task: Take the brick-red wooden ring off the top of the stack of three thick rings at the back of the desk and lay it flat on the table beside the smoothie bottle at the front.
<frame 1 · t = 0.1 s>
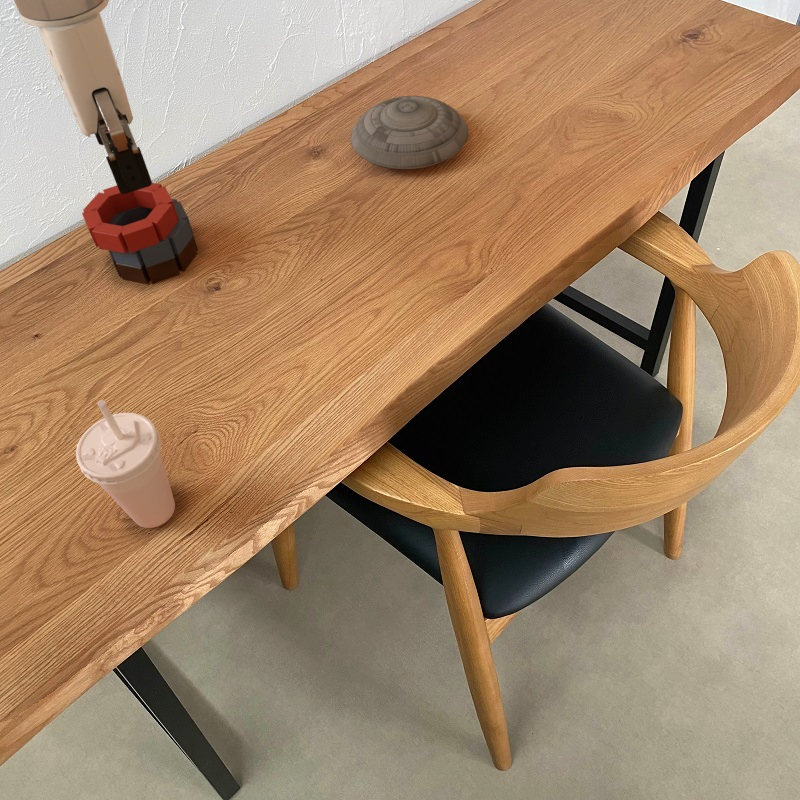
hand: (124, 163, 81), 13 cm above the table, tool pointing down, fingers open, 9 cm apart
smoothie: (154, 510, 69), on the table
ring top: (134, 224, 87), point 5 cm above the table, touching ring middle
flying saucer: (410, 145, 102), on the table
ring middle: (150, 239, 89), point 2 cm above the table, touching ring bottom, ring top
ring bottom: (156, 256, 91), on the table, touching ring middle
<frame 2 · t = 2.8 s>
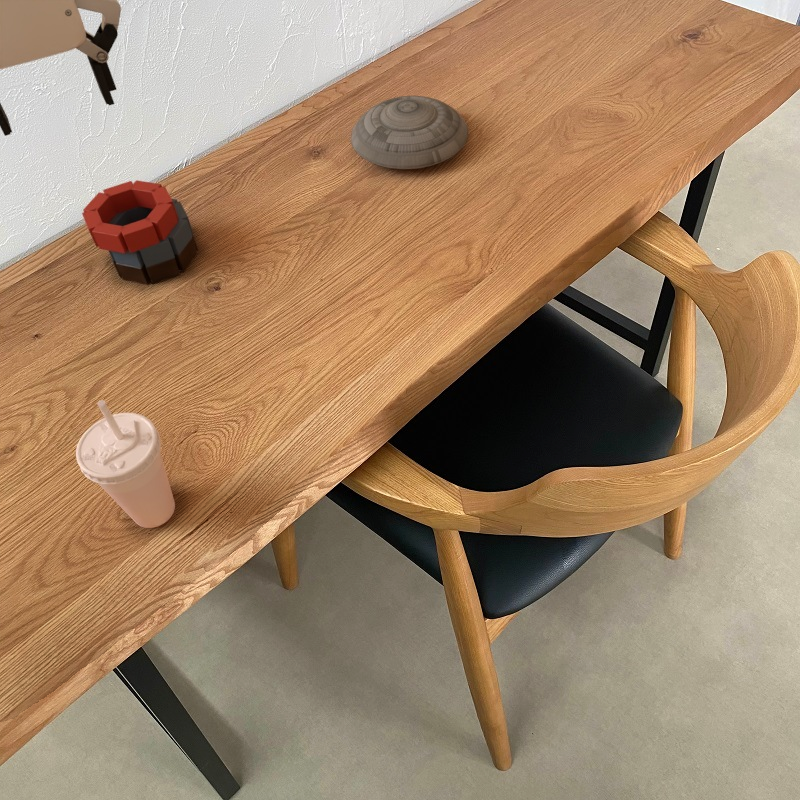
hand: (58, 113, 75), 19 cm above the table, tool pointing down, fingers open, 9 cm apart
nothing on the table moved.
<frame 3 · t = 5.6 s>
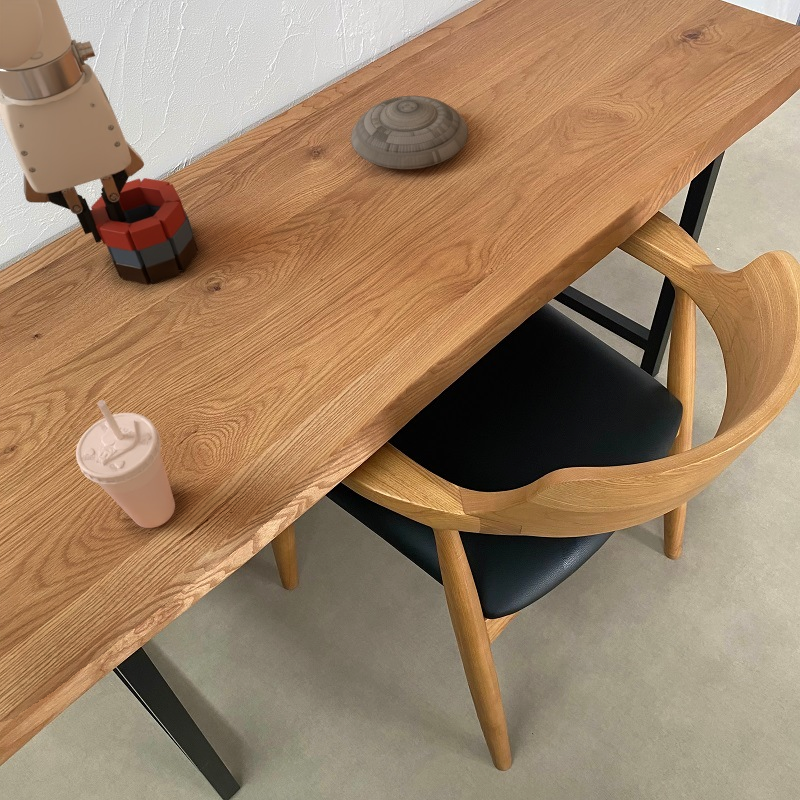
hand: (107, 230, 86), 5 cm above the table, tool pointing down, fingers closed on ring top, 1 cm apart
ring top: (141, 222, 87), point 5 cm above the table, touching gripper
ring middle: (150, 239, 89), point 2 cm above the table, touching ring bottom
everything else where it was.
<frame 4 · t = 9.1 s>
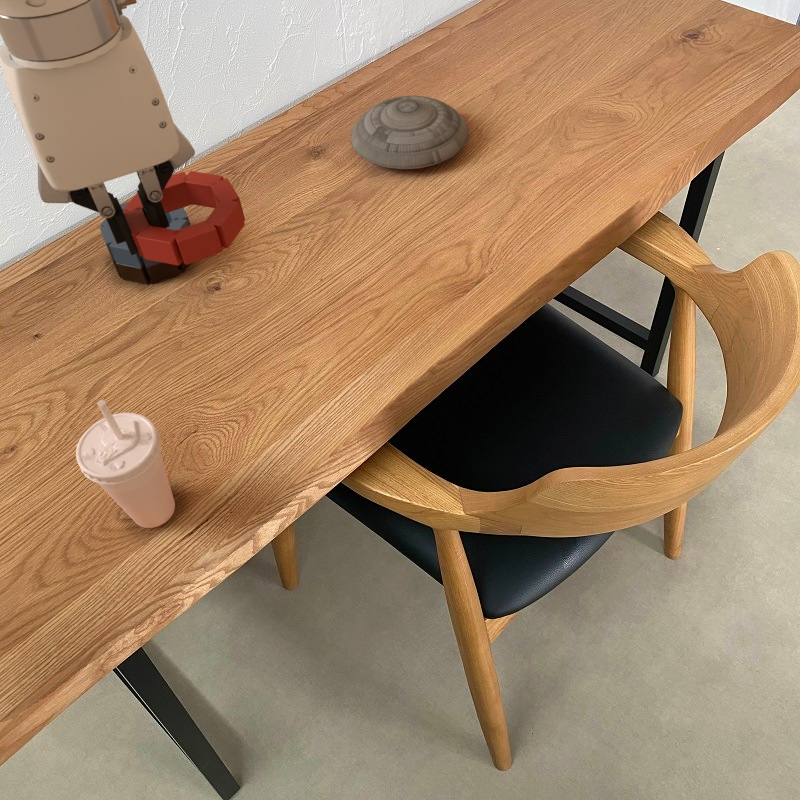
hand: (144, 238, 67), 17 cm above the table, tool pointing down, fingers closed on ring top
ring top: (188, 228, 68), point 16 cm above the table, touching gripper
everything else where it was.
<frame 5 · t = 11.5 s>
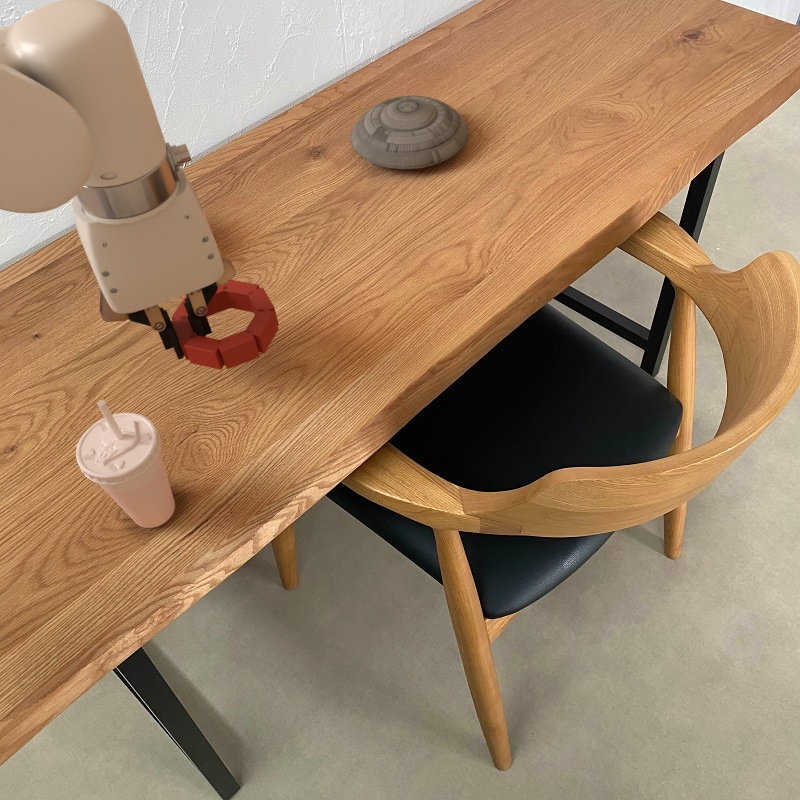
hand: (189, 343, 75), 5 cm above the table, tool pointing down, fingers closed on ring top, 1 cm apart
ring top: (228, 332, 76), point 5 cm above the table, touching gripper
everything else where it was.
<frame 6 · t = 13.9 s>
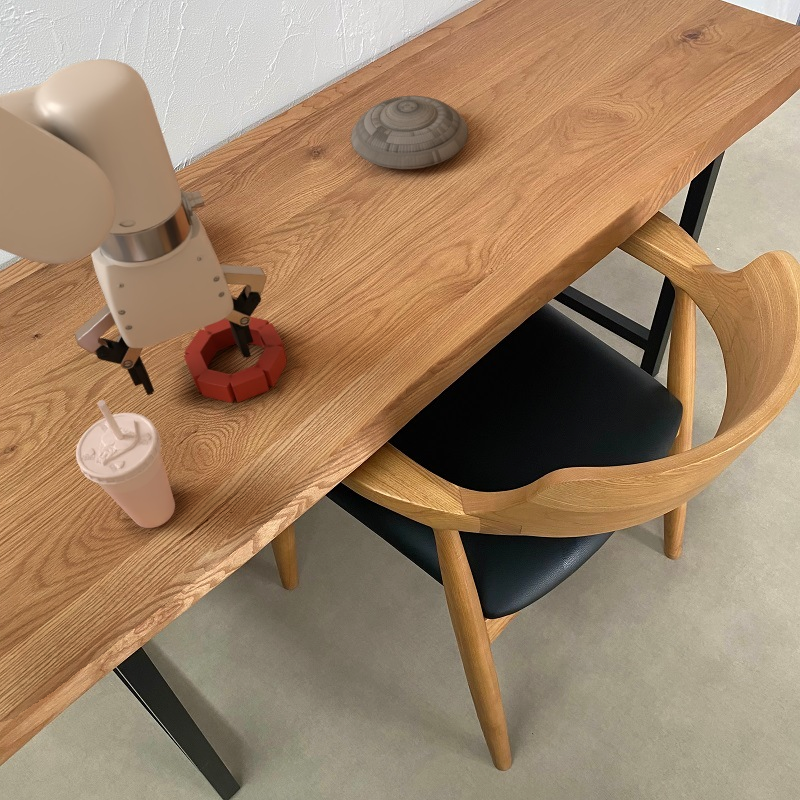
hand: (196, 366, 77), 2 cm above the table, tool pointing down, fingers open, 9 cm apart
ring top: (238, 365, 79), on the table
everything else where it was.
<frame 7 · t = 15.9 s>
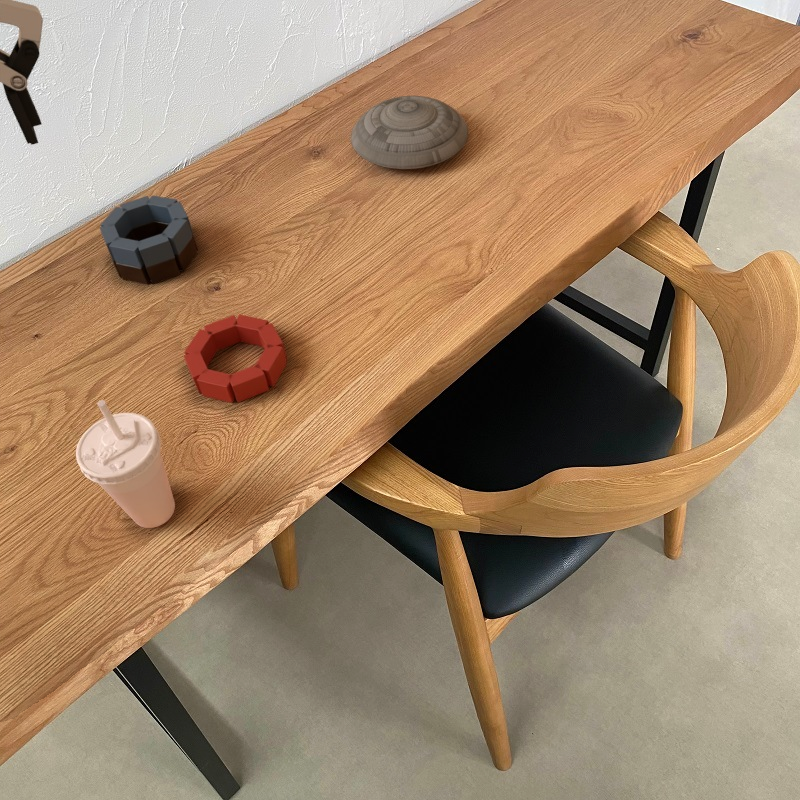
nothing on the table moved.
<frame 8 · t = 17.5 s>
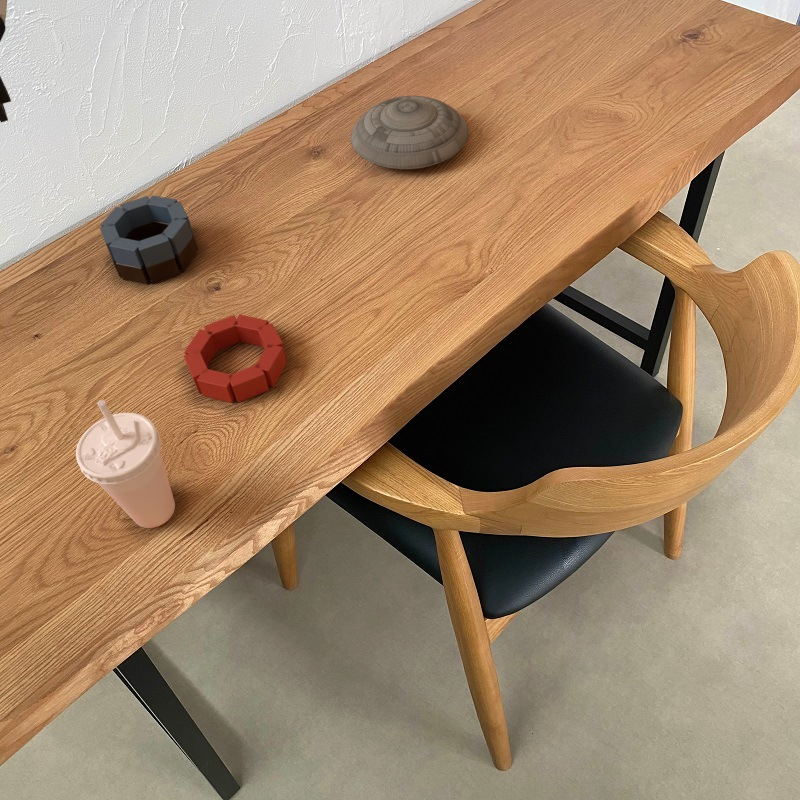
nothing on the table moved.
at the end: ring top inside the target area on the table beside the smoothie (0.5 cm from its centre), on the table; ring top tilted 0°; ring middle 0.1 cm from the target spot, point 2.4 cm above the table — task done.
